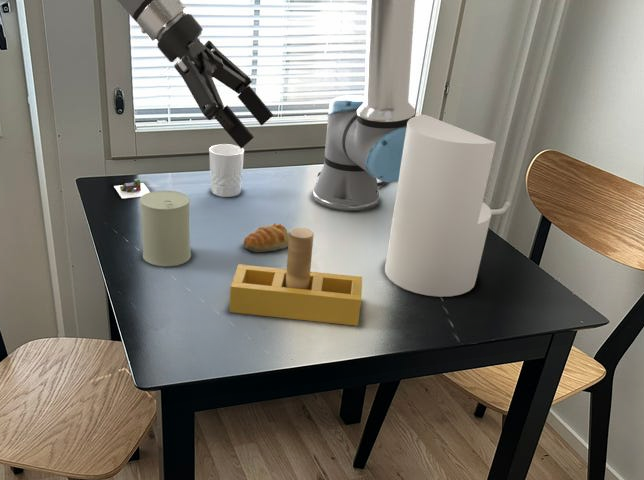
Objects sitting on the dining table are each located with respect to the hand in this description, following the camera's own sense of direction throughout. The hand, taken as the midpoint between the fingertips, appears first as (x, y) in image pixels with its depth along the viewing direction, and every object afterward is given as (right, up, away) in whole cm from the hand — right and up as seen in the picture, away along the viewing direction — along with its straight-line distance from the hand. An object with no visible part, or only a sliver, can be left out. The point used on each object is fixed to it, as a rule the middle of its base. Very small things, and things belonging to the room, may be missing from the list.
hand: (258, 131), depth 123 cm
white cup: (-8, 0, +45) cm, 46 cm away
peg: (+6, -30, +2) cm, 31 cm away
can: (-18, -19, +16) cm, 31 cm away
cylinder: (+33, -23, +15) cm, 43 cm away
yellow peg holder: (+7, -30, +2) cm, 31 cm away
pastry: (+2, -16, +22) cm, 28 cm away
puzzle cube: (-30, 0, +43) cm, 52 cm away
